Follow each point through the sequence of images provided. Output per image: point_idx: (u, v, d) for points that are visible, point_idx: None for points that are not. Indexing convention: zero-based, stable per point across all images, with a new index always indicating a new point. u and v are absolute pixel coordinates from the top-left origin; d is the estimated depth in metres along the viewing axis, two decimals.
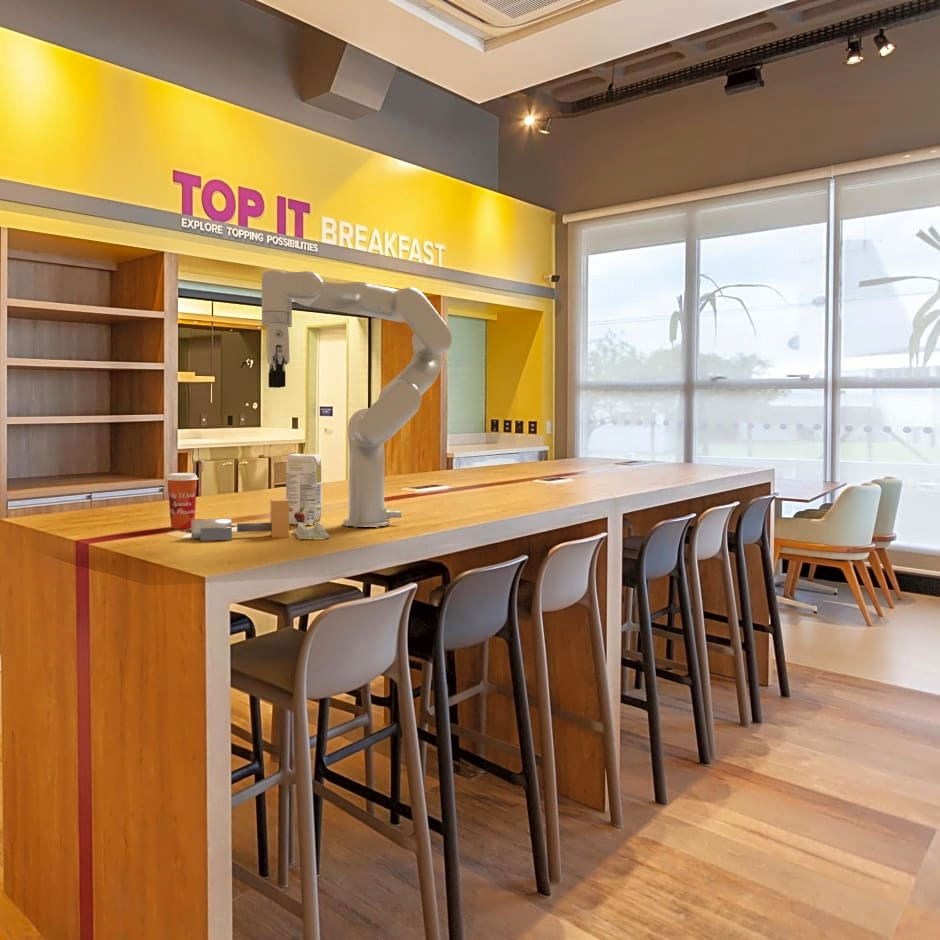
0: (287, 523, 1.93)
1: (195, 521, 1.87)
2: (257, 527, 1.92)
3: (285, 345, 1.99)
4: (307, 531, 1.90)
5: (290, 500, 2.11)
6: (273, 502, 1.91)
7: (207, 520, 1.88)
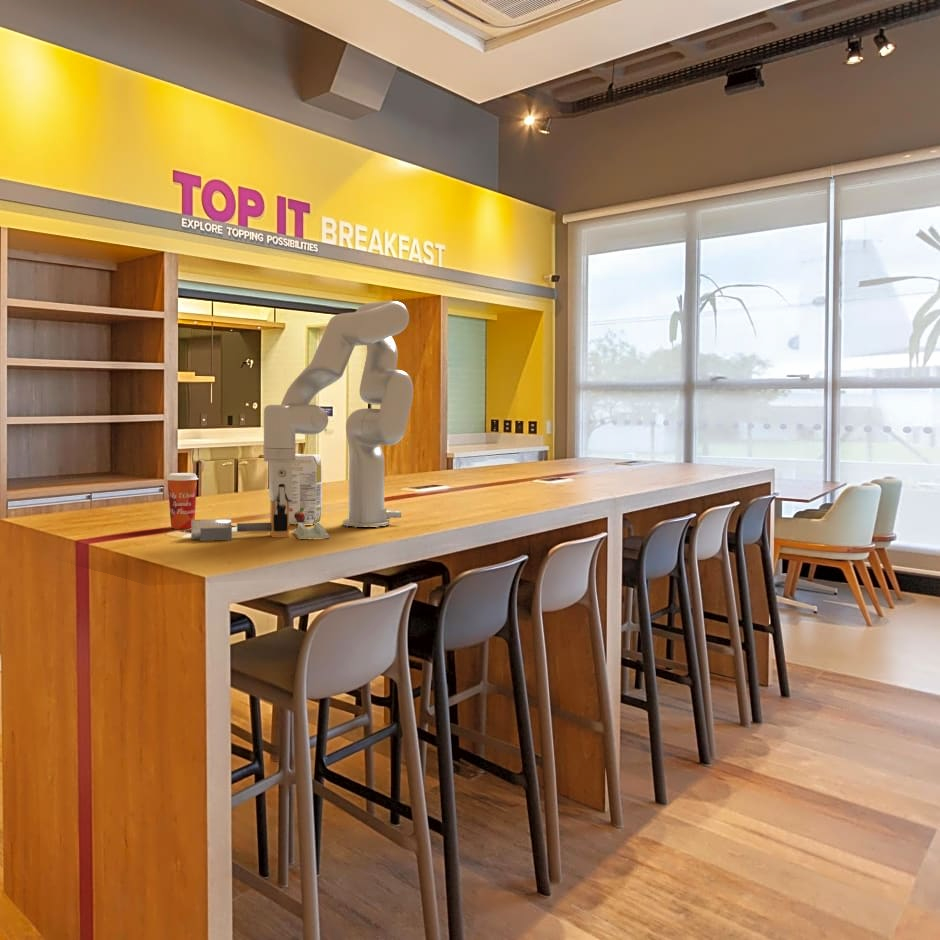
0: (287, 523, 1.93)
1: (195, 523, 1.86)
2: (257, 527, 1.92)
3: (288, 484, 1.89)
4: (307, 531, 1.90)
5: None
6: (273, 502, 1.91)
7: (207, 522, 1.87)
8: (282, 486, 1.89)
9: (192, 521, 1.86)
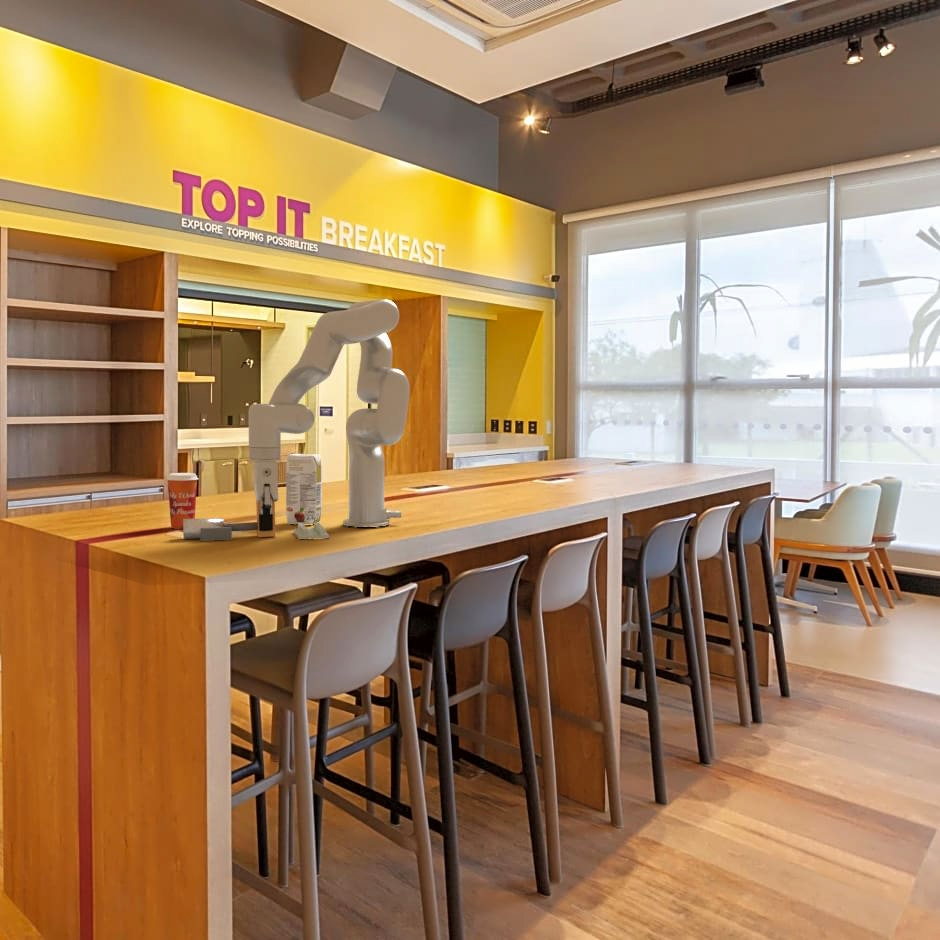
0: (273, 522, 1.92)
1: (187, 520, 1.86)
2: (243, 527, 1.90)
3: (273, 483, 1.88)
4: (307, 531, 1.90)
5: (290, 500, 2.11)
6: (258, 501, 1.90)
7: (199, 519, 1.87)
8: (267, 486, 1.88)
9: (184, 519, 1.86)
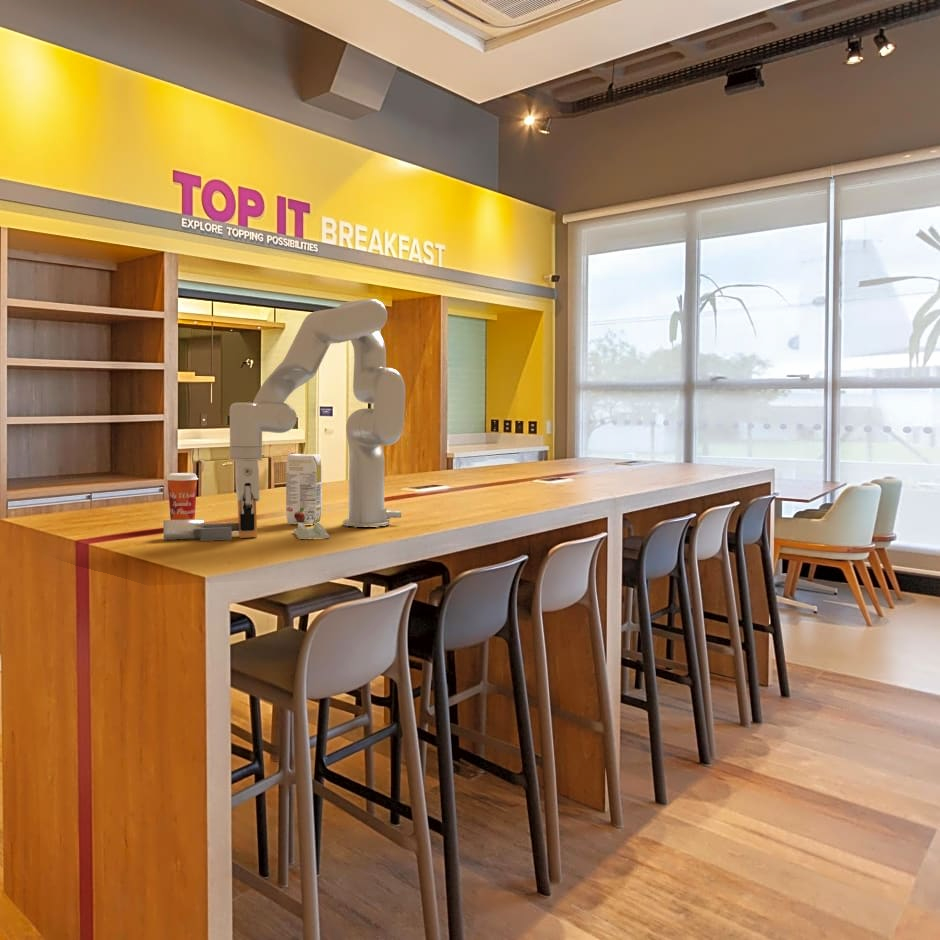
0: (255, 523, 1.90)
1: (167, 521, 1.85)
2: None
3: (254, 483, 1.87)
4: (307, 531, 1.90)
5: (290, 500, 2.11)
6: (240, 502, 1.89)
7: (180, 521, 1.86)
8: (248, 485, 1.87)
9: (164, 520, 1.85)
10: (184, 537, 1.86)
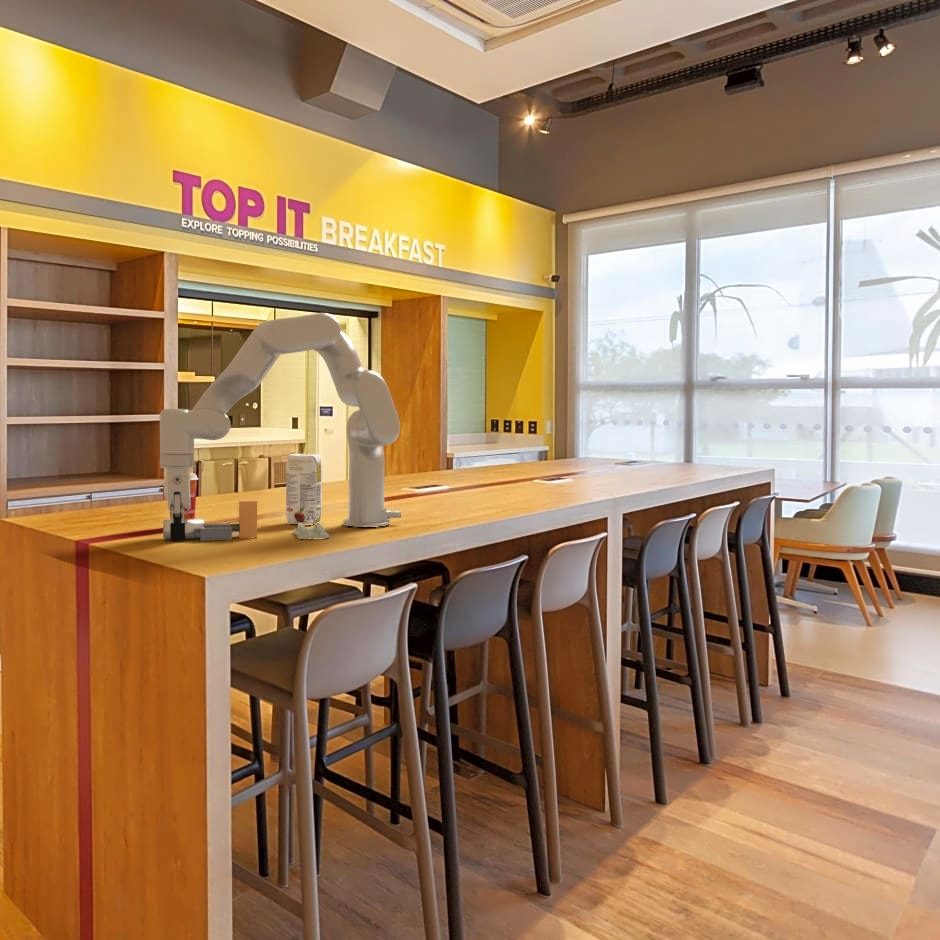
0: (255, 524, 1.90)
1: (167, 522, 1.84)
2: None
3: (184, 491, 1.82)
4: (307, 531, 1.90)
5: (290, 500, 2.11)
6: (241, 503, 1.89)
7: None
8: (178, 494, 1.82)
9: (164, 520, 1.85)
10: None
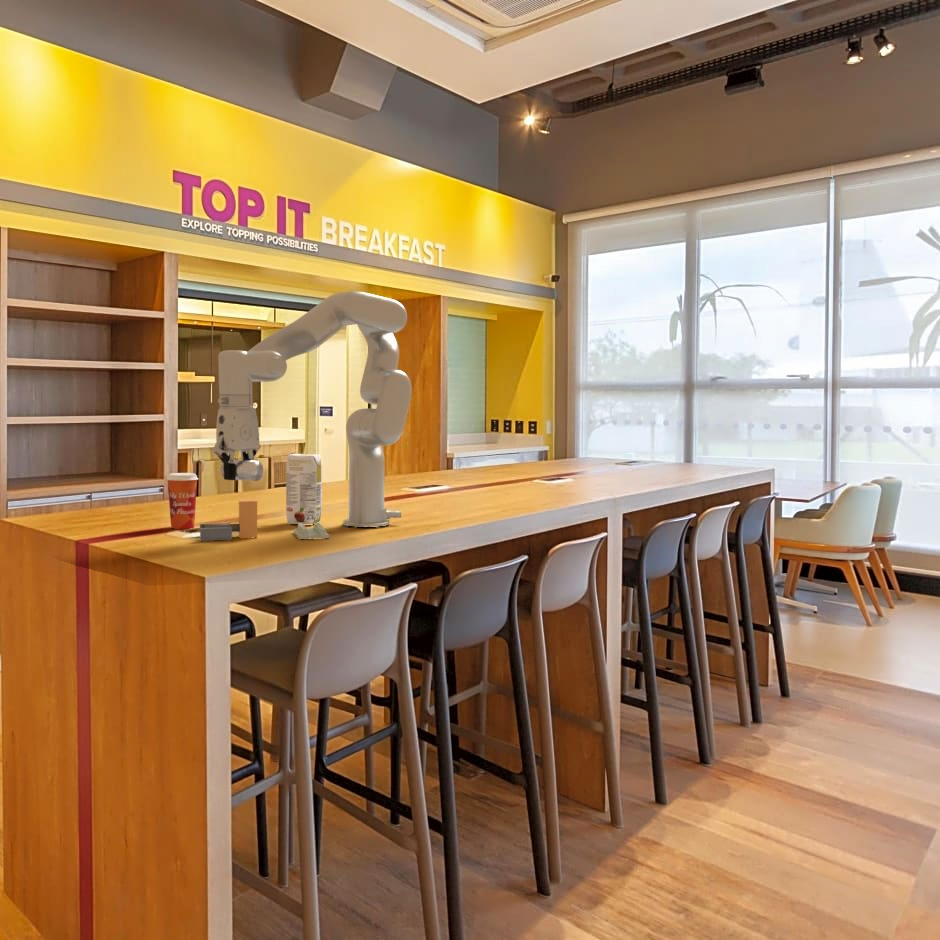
0: (255, 524, 1.90)
1: None
2: None
3: (226, 431, 1.83)
4: (307, 531, 1.90)
5: (290, 500, 2.11)
6: (241, 503, 1.89)
7: (236, 461, 1.88)
8: (223, 433, 1.84)
9: None
10: (237, 477, 1.87)
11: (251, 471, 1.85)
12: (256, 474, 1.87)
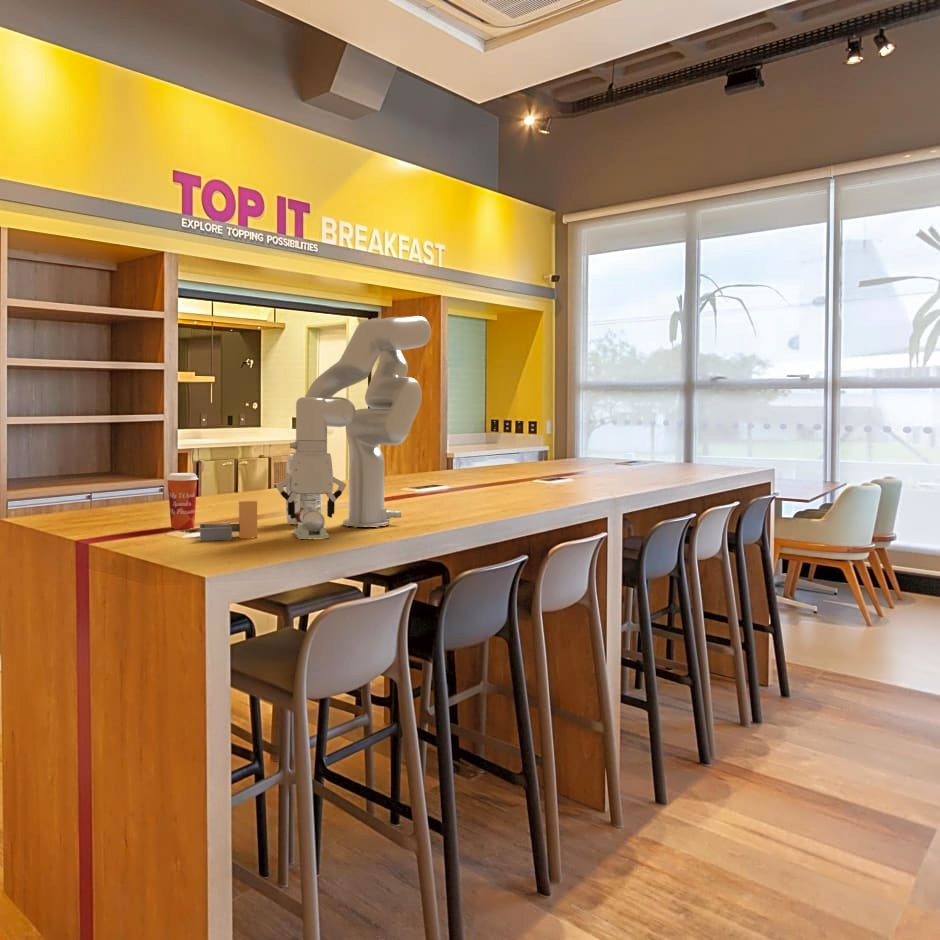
0: (255, 524, 1.90)
1: (304, 509, 1.97)
2: None
3: (291, 475, 1.91)
4: (307, 531, 1.90)
5: None
6: (241, 503, 1.89)
7: (307, 510, 1.94)
8: None
9: (307, 507, 1.98)
10: None
11: (307, 522, 1.89)
12: (315, 525, 1.90)
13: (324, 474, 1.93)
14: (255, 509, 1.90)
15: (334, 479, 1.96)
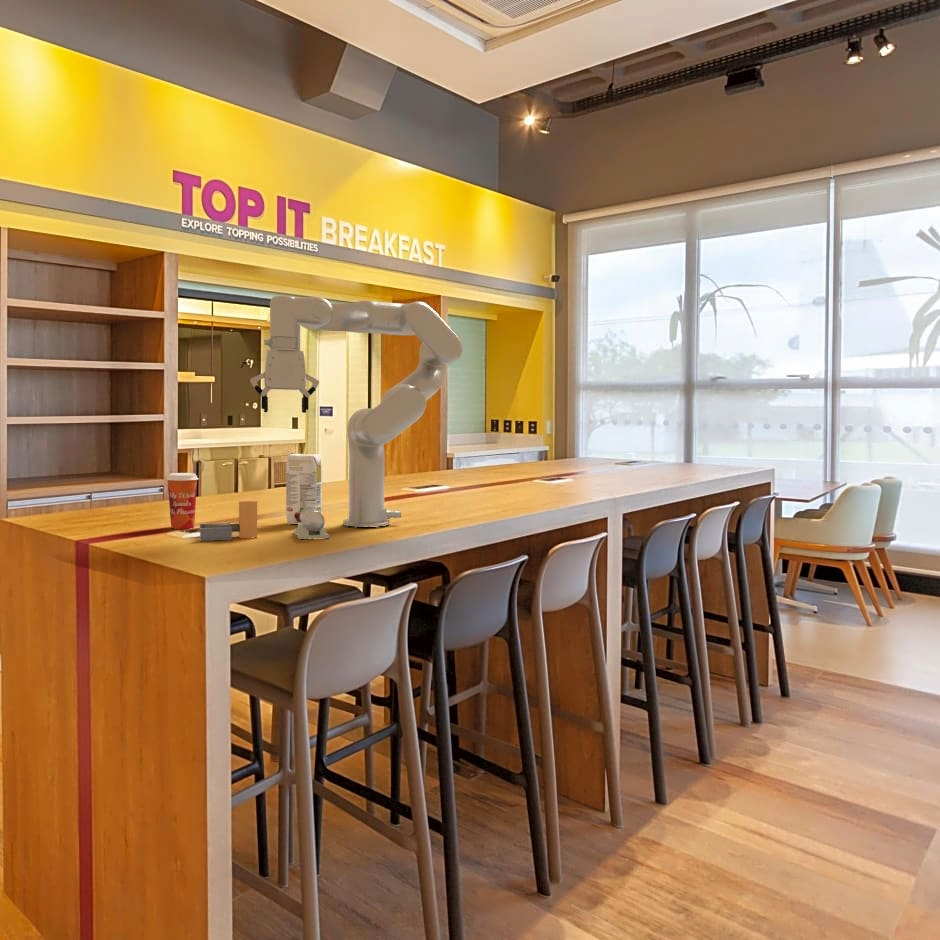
0: (255, 524, 1.90)
1: (304, 509, 1.97)
2: None
3: (265, 370, 1.99)
4: (307, 531, 1.90)
5: (290, 500, 2.11)
6: (241, 503, 1.89)
7: (307, 510, 1.94)
8: None
9: None
10: None
11: (307, 522, 1.89)
12: (315, 525, 1.90)
13: (297, 370, 2.01)
14: (255, 509, 1.90)
15: (307, 376, 2.04)
